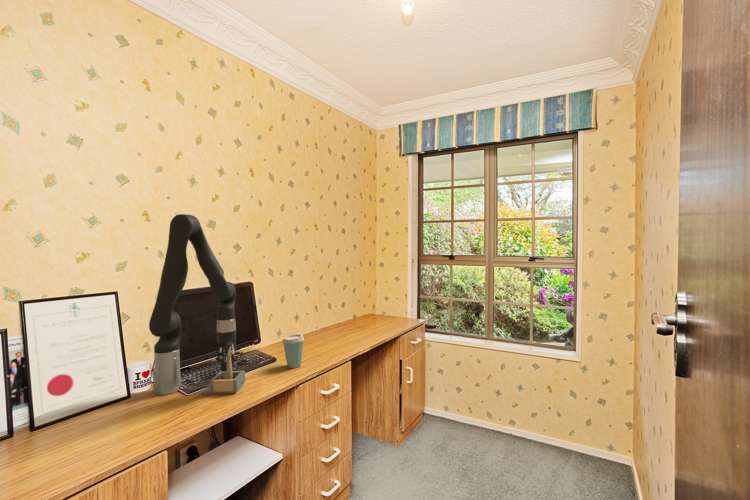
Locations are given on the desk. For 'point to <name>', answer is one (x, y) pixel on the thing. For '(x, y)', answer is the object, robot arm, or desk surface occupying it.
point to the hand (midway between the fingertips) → (227, 367)
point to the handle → (229, 366)
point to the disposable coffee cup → (293, 349)
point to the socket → (225, 383)
